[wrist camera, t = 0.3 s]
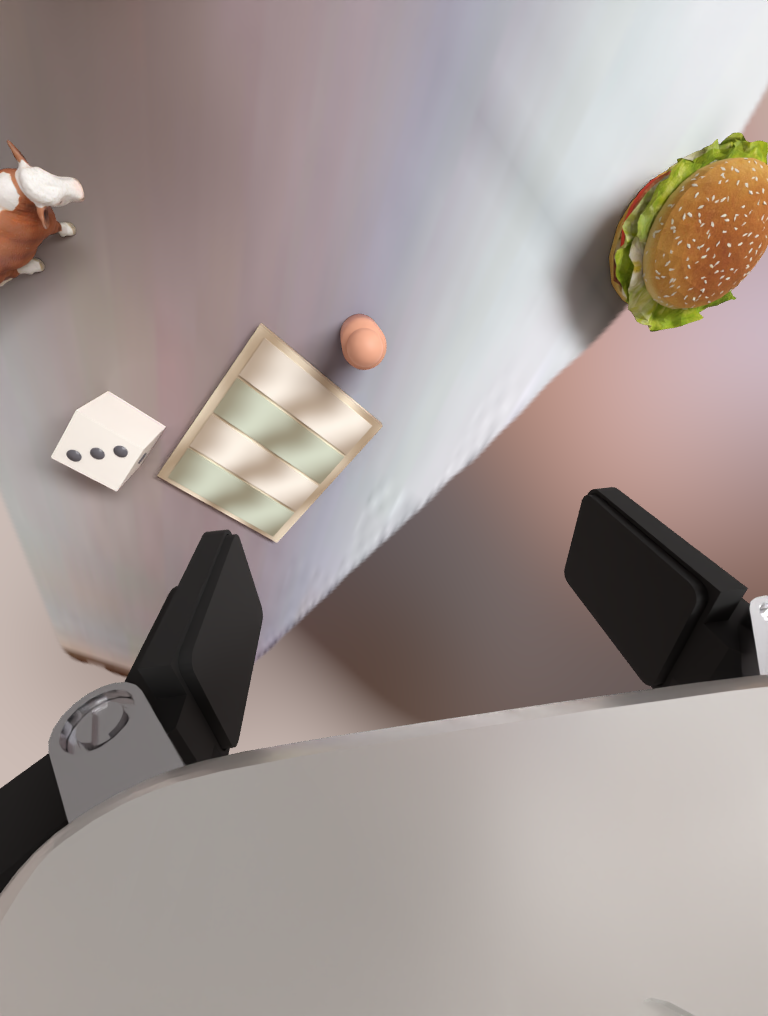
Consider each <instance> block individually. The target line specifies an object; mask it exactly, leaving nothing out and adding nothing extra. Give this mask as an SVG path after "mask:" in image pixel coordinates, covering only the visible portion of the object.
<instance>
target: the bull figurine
mask: <svg viewBox="0 0 768 1016" xmlns="http://www.w3.org/2000/svg"><path fill="white" fill-rule="evenodd" d="M7 143H8V146H9V147H10V149H11V150H12V153H13V155H14V157H15V158H16V160H17V161H18V163H19V167H18V169H11V168H8V169H2V170H0V286H3V285H4V284H5V283H6V282H8V281H10V280H12V278H15V277H17V276H18V275H19V274H22V273H27V274H30V275H32V274H33V272H41V271H43V270H44V268H45V266H44V264H43V262H42V261H41V260H40V259H38V258H33V257H34V255H35V254H36V251H37V247H38V246H39V245H40V244H41V242H42V241H43V240H44V239H45V238H47V237H48V236H49V235H50V234H55V233H57V232H58V233H59V234H60V236H62V237H64V236H73V235H75V233H76V229H75V227H74V225H73V224H72V223H70V222H61V223H59V222H57V221H56V218H55V214H54V212H53V210H52V208H51V207H50V206H53V207H62V206H64V205H67V204H68V203H69V202H72V201H73V202H82V201H84V199H85V197H84V191H83V188H82V186H81V184H80V182H79V181H78V180H77V179H75V178H72V177H59V176H56V175H53V174H50V173H49V172H47V171H45V170H43V169H41V168H40V167H31V166H30V165H29V164H28V162H27V161H26V159H25V158H24V156H23V155H22V154H21V153H20V151H19V150H18V149H17V148H16V147H15V146H14V145H13V144H12V143H11V142H10V141H9V140H7Z"/></svg>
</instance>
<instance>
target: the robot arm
mask: <svg viewBox="0 0 768 1016" xmlns="http://www.w3.org/2000/svg"><path fill="white" fill-rule="evenodd" d="M564 573H565V578H566V580H567V582H568V584H569V585H570V586H571V588H572V589H573V590H574V592H575V593H576V594H577V596H578V597H579V598H580V600H581V601H582V602H583V603H584V605H585V606H586V607H587V609H588V610H589V612H590V613H591V614H592V615H593V617H594V618H595V619H596V621H597V622H598V623H599V625H600V626H601V627H602V629H603V630H604V631H605V632H606V634H607V635H608V637H609V638H610V639H611V641H612V642H613V643H614V645H615V646H616V647H617V649H618V650H619V651H620V653H621V654H622V655H623V657H624V658H625V659H626V660H627V662H628V663H629V664H630V666H631V667H632V668H633V670H634V671H635V672H636V674H637V675H638V676H639V678H640V679H641V680H642V681H643V682H644V683H645V684H646V685H649V686H651V687H652V688H653V689H648V690H641V691H634V692H628V693H621V694H613V695H606V696H600V697H593V698H586V699H579V700H572V701H565V702H558V703H552V704H545V705H538V706H531V707H524V708H517V709H511V710H504V711H497V712H491V713H484V714H477V715H471V716H464V717H457V718H451V719H444V720H438V721H431V722H424V723H418V724H411V725H405V726H398V727H392V728H385V729H379V730H372V731H366V732H359V733H353V734H347V735H340V736H334V737H327V738H321V739H315V740H309V741H303V742H297V743H291V744H287V745H280V746H274V747H268V748H263V749H257V750H251V751H245V752H240V753H236V754H231V755H228V754H229V749H230V748H233V747H236V746H237V743H238V740H239V736H240V731H241V726H242V721H243V715H244V710H245V706H246V701H247V695H248V690H249V685H250V680H251V675H252V670H253V665H254V660H255V655H256V650H257V645H258V640H259V635H260V630H261V625H262V619H263V613H262V607H261V604H260V600H259V597H258V594H257V591H256V588H255V585H254V582H253V578H252V575H251V572H250V569H249V566H248V563H247V560H246V557H245V553H244V550H243V547H242V544H241V541H240V538H239V536H238V535H237V534H235V535H232V534H231V532H230V531H229V530H220V531H211V532H205V533H204V534H203V536H202V538H201V540H200V542H199V544H198V546H197V548H196V550H195V552H194V554H193V556H192V558H191V560H190V562H189V564H188V567H187V569H186V571H185V573H184V575H183V577H182V579H181V581H180V583H179V585H178V586H176V587H175V588H173V589H172V590H171V592H170V593H169V595H168V597H167V599H166V601H165V603H164V605H163V607H162V609H161V611H160V613H159V615H158V617H157V619H156V621H155V623H154V625H153V626H152V628H151V630H150V632H149V634H148V636H147V638H146V640H145V642H144V644H143V646H142V648H141V650H140V652H139V654H138V656H137V658H136V660H135V662H134V664H133V666H132V668H131V670H130V672H129V674H128V676H127V678H126V680H125V682H121V683H113V684H109V685H106V686H103V687H100V688H99V689H96V690H95V691H93V692H91V693H89V694H87V695H86V696H84V697H83V698H81V699H80V700H79V701H78V702H76V703H75V704H74V705H73V706H72V707H71V708H70V709H69V710H68V711H67V712H66V713H65V714H64V715H63V716H62V717H61V718H60V720H59V721H58V723H57V724H56V726H55V727H54V729H53V731H52V734H51V737H50V739H49V754H47V755H46V756H44V757H43V758H42V759H40V760H39V761H38V762H36V763H35V764H33V765H32V766H31V767H29V768H28V769H27V770H25V771H24V772H22V773H21V774H20V775H18V776H17V777H15V778H14V779H13V780H11V781H10V782H9V783H8V784H6V785H4V786H3V787H2V788H0V1016H768V596H761V597H757V598H755V599H753V600H752V601H751V602H750V604H749V603H747V602H746V601H745V600H744V599H743V598H742V597H743V595H744V594H745V592H746V591H747V587H745V586H744V585H743V584H741V583H740V582H739V581H737V580H736V579H735V578H734V577H732V576H731V575H730V574H728V573H727V572H726V571H724V570H723V569H722V568H720V567H719V566H718V565H717V564H715V563H714V562H713V561H711V560H710V559H709V558H707V557H706V556H705V555H703V554H702V553H701V552H700V551H698V550H697V549H695V548H694V547H693V546H691V545H690V544H689V543H688V542H686V541H685V540H684V539H683V538H681V537H680V536H679V535H677V534H676V533H674V532H673V531H672V530H671V529H669V528H668V527H667V526H666V525H664V524H663V523H662V522H660V521H659V520H658V519H656V518H655V517H654V516H652V515H651V514H650V513H649V512H647V511H646V510H644V509H643V508H642V507H641V506H639V505H638V504H637V503H635V502H634V501H633V500H632V499H630V498H629V497H628V496H626V495H625V494H624V493H622V492H621V491H620V490H618V489H617V488H613V487H610V488H601V489H593V490H591V491H590V492H589V493H588V495H586V496H584V498H583V500H582V503H581V507H580V510H579V515H578V518H577V522H576V526H575V530H574V534H573V538H572V542H571V546H570V550H569V554H568V558H567V562H566V566H565V571H564Z"/></svg>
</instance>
